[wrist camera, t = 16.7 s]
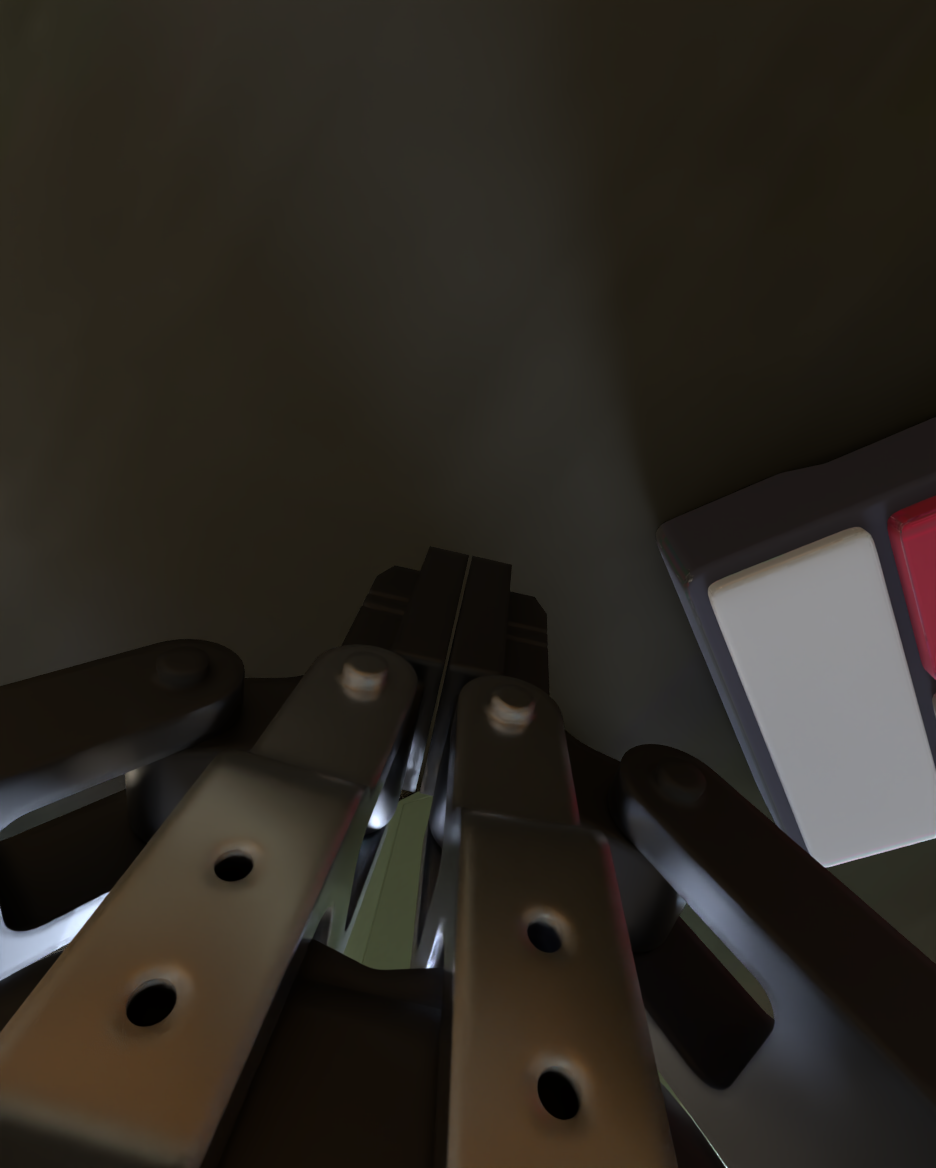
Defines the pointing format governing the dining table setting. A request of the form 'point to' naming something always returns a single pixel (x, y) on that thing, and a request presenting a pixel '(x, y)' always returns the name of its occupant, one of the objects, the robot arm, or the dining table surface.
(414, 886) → the pot
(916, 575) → the black square box
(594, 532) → the dining table surface
